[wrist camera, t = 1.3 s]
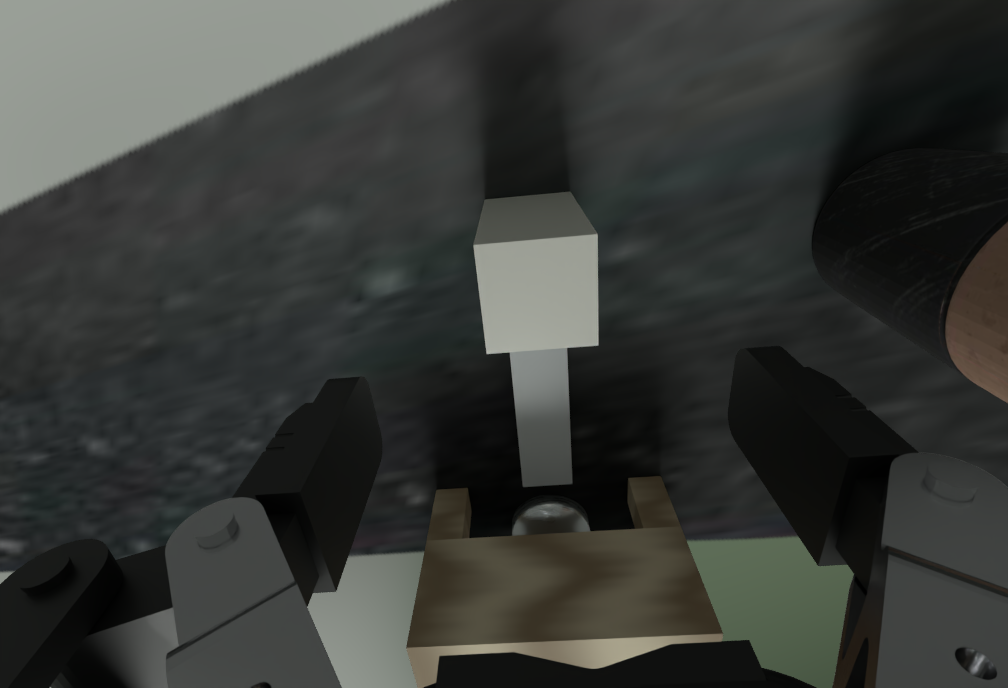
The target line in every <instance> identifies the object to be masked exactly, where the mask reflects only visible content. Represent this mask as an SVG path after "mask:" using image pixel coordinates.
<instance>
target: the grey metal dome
mask: <svg viewBox="0 0 1008 688" xmlns="http://www.w3.org/2000/svg"><path fill="white" fill-rule="evenodd" d="M589 531H590V527H589V521H588V516H587V513H586V511H585V510H584V508H583V507H582V506H581V505H580V504H579V503H578V502H576V501H575V500H573V499H571V498H569V497H566V496H562V495H555V494H547V495H540V496H536V497H533V498H531V499H529V500H527V501H525V502H524V503H523V504H521V505H520V506H519V507H518V508H517V510H516V511H515V513H514V515H513V518H512V536H518V535H536V534H554V533H571V532H589Z"/></svg>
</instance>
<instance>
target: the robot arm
mask: <svg viewBox="0 0 1008 688" xmlns="http://www.w3.org/2000/svg"><path fill="white" fill-rule="evenodd" d="M728 421H729V427H730V431H731V434H732V436H733V438H734V440H735V442H736V443H737V445H738V446H739V448H740V449H741V451H742V452H743V454H744V455H745V457H746V458H747V460H748V461H749V463H750V464H751V466H752V467H753V469H754V470H755V472H756V473H757V475H758V476H759V478H760V479H761V481H762V482H763V484H764V485H765V487H766V488H767V490H768V491H769V493H770V494H771V496H772V497H773V499H774V500H775V502H776V503H777V505H778V506H779V508H780V509H781V511H782V512H783V514H784V515H785V517H786V518H787V520H788V521H789V523H790V524H791V526H792V527H793V529H794V530H795V532H796V533H797V535H798V536H799V538H800V539H801V541H802V542H803V544H804V545H805V547H806V548H807V550H808V551H809V553H810V554H811V556H812V557H813V559H814V560H815V562H816V563H817V565H818V566H829V565H846V564H847V565H848V566H849V567H850V569H851V570H852V571H853V573H854V576H853V580H852V582H851V585H850V589H849V594H848V600H847V607H846V612H845V618H844V624H843V630H842V636H841V642H840V649H839V654H838V660H837V666H836V672H835V677H834V682H833V686H832V688H1008V488H1007V487H1006V486H1005V485H1004V484H1003V483H1002V482H1001V481H1000V480H998V479H997V478H995V477H994V476H992V475H991V474H989V473H988V472H986V471H984V470H982V469H980V468H978V467H976V466H974V465H972V464H969V463H967V462H964V461H961V460H958V459H955V458H952V457H948V456H944V455H939V454H932V453H919V452H918V451H917V450H915V449H914V448H913V447H912V446H911V445H910V444H908V443H907V442H906V441H905V440H904V439H903V438H901V437H900V436H899V435H898V434H897V433H896V432H895V431H893V430H892V429H891V428H890V427H889V426H888V425H886V424H885V423H884V422H883V421H882V420H881V419H879V418H878V417H877V416H876V415H875V414H874V413H873V412H871V411H870V410H869V411H867V410H866V406H864V405H863V404H862V403H861V402H860V401H859V400H857V399H856V398H855V397H853V398H852V396H851V394H850V393H849V392H848V391H847V390H846V389H845V388H844V387H842V386H841V385H840V384H839V383H838V382H837V381H835V380H834V379H833V378H830V377H828V376H826V375H824V374H822V373H820V372H818V371H816V370H814V369H812V368H810V367H803V366H802V365H801V364H800V363H799V362H798V361H797V360H795V359H794V358H793V357H792V356H791V355H790V354H789V353H788V352H787V351H786V350H784V349H783V348H782V347H780V346H770V347H757V348H744V349H740V350H739V351H738V353H737V355H736V358H735V364H734V371H733V378H732V386H731V393H730V400H729V407H728ZM381 457H382V438H381V432H380V428H379V424H378V420H377V416H376V412H375V408H374V404H373V400H372V396H371V392H370V388H369V385H368V382H367V380H366V379H365V378H364V377H351V378H338V379H329V380H327V382H326V383H325V385H324V386H323V388H322V389H321V391H320V392H319V394H318V396H317V397H316V399H315V400H314V402H313V403H305V404H304V405H303V406H301V407H300V408H299V409H297V410H296V411H295V412H294V413H292V414H291V415H290V416H288V417H287V418H286V419H285V421H284V422H283V424H282V425H281V427H280V428H279V430H278V431H277V433H276V434H275V438H272V440H271V441H270V443H269V444H268V446H267V447H266V451H265V452H263V453H262V455H261V456H260V457H259V459H258V460H257V462H256V463H255V465H254V466H253V468H252V469H251V471H250V472H249V474H248V475H247V477H246V478H245V479H244V481H243V482H242V484H241V485H240V487H239V488H238V490H237V491H236V493H235V494H234V496H233V497H232V498H230V499H226V500H222V501H219V502H216V503H214V504H211V505H209V506H207V507H205V508H203V509H201V510H199V511H198V512H196V513H195V514H193V515H192V516H190V517H189V518H188V519H186V520H185V521H184V522H183V523H182V524H181V525H180V526H179V527H178V528H177V529H176V530H175V531H174V532H173V534H172V535H171V537H170V538H169V540H168V542H167V545H165V546H161V547H158V548H155V549H151V550H148V551H145V552H141V553H138V554H135V555H131V556H128V557H125V558H121V559H118V560H115V558H114V557H113V555H112V554H111V552H110V551H109V549H108V547H107V546H106V545H105V544H104V543H103V542H101V541H99V540H93V539H85V540H78V541H74V542H70V543H66V544H64V545H61V546H58V547H56V548H53V549H51V550H49V551H47V552H45V553H43V554H41V555H39V556H37V557H36V558H34V559H32V560H31V561H29V562H27V563H26V564H24V565H23V566H22V567H20V568H19V569H17V570H16V571H15V572H14V573H12V574H11V575H10V576H9V577H8V578H7V579H5V580H4V581H3V582H2V583H1V584H0V688H49V687H51V688H342V687H341V685H340V682H339V680H338V678H337V676H336V673H335V671H334V668H333V666H332V664H331V661H330V659H329V657H328V655H327V652H326V650H325V648H324V645H323V643H322V641H321V638H320V636H319V634H318V631H317V629H316V627H315V624H314V622H313V620H312V618H311V615H310V613H309V611H308V608H307V606H308V604H309V601H310V599H311V596H312V594H313V593H321V592H336V590H337V587H338V584H339V581H340V579H341V575H342V573H343V570H344V567H345V564H346V561H347V558H348V555H349V552H350V549H351V547H352V544H353V541H354V538H355V535H356V532H357V529H358V526H359V523H360V520H361V517H362V515H363V512H364V509H365V506H366V503H367V500H368V497H369V494H370V491H371V488H372V485H373V482H374V480H375V477H376V474H377V471H378V468H379V465H380V462H381ZM423 688H816V687H814V686H812V685H810V684H807V683H805V682H803V681H800V680H798V679H796V678H794V677H791V676H787V675H785V674H782V673H779V672H776V671H772V670H769V669H764V668H761V666H760V664H759V661H758V659H757V657H756V655H755V652H754V650H753V648H752V646H751V643H750V641H749V640H741V641H721V642H702V643H682V644H670V645H667V646H664V647H661V648H658V649H655V650H652V651H650V652H647V653H644V654H641V655H638V656H635V657H632V658H629V659H626V660H623V661H620V662H617V663H614V664H611V665H609V666H606V667H602V668H598V669H590V668H584V667H580V666H575V665H571V664H566V663H561V662H557V661H552V660H548V659H543V658H539V657H534V656H530V655H525V654H520V653H516V652H505V653H485V654H466V655H446V656H439V662H438V670H437V679H436V683H434V684H431V685H428V686H425V687H423Z"/></svg>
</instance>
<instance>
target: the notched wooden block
mask: <svg viewBox="0 0 1008 688" xmlns="http://www.w3.org/2000/svg"><path fill="white" fill-rule="evenodd" d="M627 503H628V506H629V509H630V513H631V516H632V520H633V523H634V527H635V529H625V530H607V531H589V532H571V533H554V534H536V535H518V536H500V537H482V538H469V534H470V523H471V513H472V510H471V504H470V498H469V492H468V488H456V489H440V490H436V495H435V500H434V505H433V510H432V516H431V521H430V526H429V531H428V537H427V542H426V547H425V552H424V558H423V564H422V568H421V574H420V579H419V584H418V589H417V594H416V600H415V605H414V610H413V615H412V620H411V626H410V631H409V636H408V641H407V647H406V649H407V652H408V655H409V659H410V662H411V666H412V669H413V672H414V676H415V679H416V683H417V686H418V688H423V687H425V686H428V685H431V684H434V683H436V679H437V670H438V662H439V656H446V655H466V654H485V653H505V652H516V653H520V654H525V655H530V656H534V657H539V658H543V659H548V660H552V661H557V662H561V663H566V664H571V665H575V666H580V667H584V668H590V669H598V668H602V667H606V666H609V665H611V664H614V663H617V662H620V661H623V660H626V659H629V658H632V657H635V656H638V655H641V654H644V653H647V652H650V651H652V650H655V649H658V648H661V647H664V646H667V645H670V644H682V643H702V642H721V641H722V637H723V632H722V630H721V627H720V625H719V622H718V619H717V617H716V614H715V612H714V609H713V607H712V604H711V602H710V599H709V597H708V594H707V592H706V589H705V587H704V584H703V582H702V579H701V576H700V574H699V571H698V569H697V567H696V564H695V562H694V559H693V556H692V554H691V551H690V549H689V547H688V544H687V541H686V539H685V536H684V534H683V531H682V528H681V526H680V523H679V521H678V518H677V516H676V513H675V511H674V508H673V506H672V503H671V501H670V498H669V496H668V493H667V491H666V488H665V485H664V483H663V480H662V478H661V476H651V477H635V478H628V498H627Z"/></svg>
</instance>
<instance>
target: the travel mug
mask: <svg viewBox="0 0 1008 688" xmlns="http://www.w3.org/2000/svg"><path fill="white" fill-rule="evenodd" d="M812 251H813V258H814V262H815V265H816V267H817V270H818V272H819V274H820V275H821V276H822V278H823V279H824V281H825V282H826V283H827V284H828V285H829V286H831V287H832V288H833V289H834V290H836V291H837V292H839V293H840V294H842V295H843V296H844V297H846V298H847V299H849V300H850V301H852V302H853V303H855V304H856V305H858V306H859V307H861V308H862V309H864V310H865V311H867V312H868V313H870V314H871V315H873V316H874V317H876V318H877V319H879V320H880V321H882V322H883V323H885V324H886V325H888V326H889V327H891V328H892V329H894V330H895V331H897V332H898V333H900V334H901V335H903V336H904V337H906V338H907V339H909V340H910V341H912V342H913V343H915V344H916V345H918V346H919V347H921V348H922V349H924V350H925V351H927V352H928V353H930V354H931V355H933V356H934V357H936V358H937V359H939V360H940V361H942V362H943V363H945V364H946V365H948V366H949V367H951V368H952V369H954V370H955V371H957V372H958V373H960V374H961V375H963V376H964V377H966V378H968V379H970V380H971V381H973V382H974V383H975V384H977V385H979V386H980V387H982V388H984V389H985V390H987V391H989V392H990V393H992V394H994V395H995V396H997V397H999V398H1000V399H1002V400H1004V401H1005V402H1007V403H1008V153H994V152H981V151H968V150H953V149H936V148H912V149H904V150H900V151H895V152H892V153H889V154H886V155H883V156H880V157H878V158H876V159H874V160H872V161H870V162H868V163H867V164H865V165H864V166H862V167H860V168H859V169H858V170H856V171H855V172H854V173H852V174H851V175H850V176H849V177H848V178H846V179H845V180H844V181H843V182H842V183H841V184H840V185H839V186H838V188H837V189H836V190H835V191H834V192H833V194H832V195H831V196H830V198H829V199H828V200H827V202H826V204H825V205H824V207H823V209H822V211H821V213H820V215H819V217H818V220H817V223H816V226H815V229H814V234H813V241H812Z"/></svg>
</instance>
